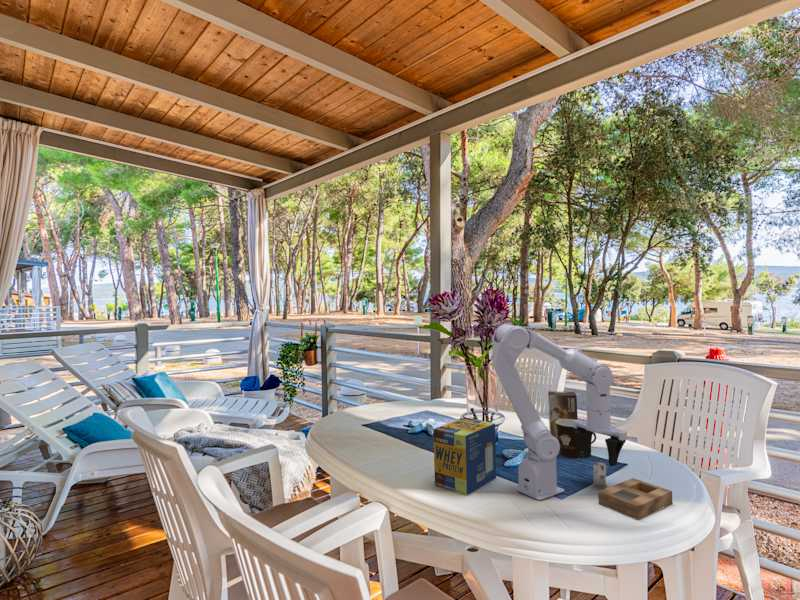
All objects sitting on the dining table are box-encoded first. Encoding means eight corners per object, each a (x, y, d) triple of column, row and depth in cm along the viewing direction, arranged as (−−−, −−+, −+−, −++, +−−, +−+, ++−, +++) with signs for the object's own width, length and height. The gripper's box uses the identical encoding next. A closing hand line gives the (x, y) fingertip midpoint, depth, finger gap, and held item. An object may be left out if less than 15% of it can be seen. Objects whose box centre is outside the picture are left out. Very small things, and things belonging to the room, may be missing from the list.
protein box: (434, 486, 129) (432, 428, 128) (466, 469, 140) (464, 416, 140) (466, 496, 122) (465, 435, 122) (497, 477, 133) (496, 422, 133)
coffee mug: (550, 452, 153) (550, 421, 153) (572, 448, 156) (571, 417, 156) (576, 464, 142) (575, 430, 142) (599, 459, 145) (598, 426, 145)
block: (638, 519, 107) (637, 506, 107) (598, 503, 115) (598, 491, 115) (672, 503, 114) (672, 491, 114) (632, 489, 123) (632, 478, 123)
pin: (601, 490, 123) (601, 466, 123) (591, 486, 126) (590, 463, 126) (608, 487, 125) (608, 464, 125) (598, 483, 127) (598, 461, 127)
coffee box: (576, 437, 168) (575, 391, 167) (578, 442, 161) (577, 395, 161) (549, 435, 170) (548, 390, 170) (550, 441, 164) (549, 394, 163)
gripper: (633, 412, 121) (634, 465, 121) (584, 402, 133) (585, 450, 133) (616, 416, 117) (618, 471, 117) (567, 405, 130) (569, 455, 130)
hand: (599, 461), depth 125 cm, fingers open, 7 cm apart
